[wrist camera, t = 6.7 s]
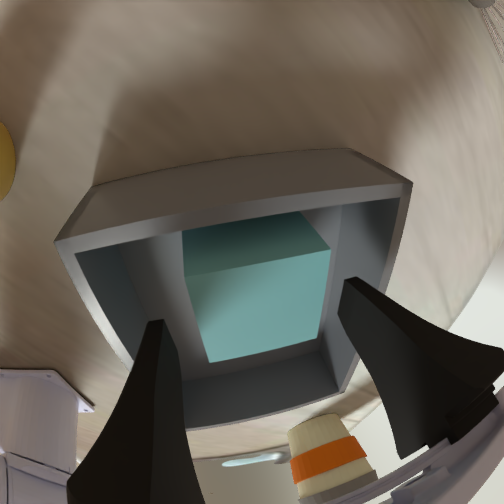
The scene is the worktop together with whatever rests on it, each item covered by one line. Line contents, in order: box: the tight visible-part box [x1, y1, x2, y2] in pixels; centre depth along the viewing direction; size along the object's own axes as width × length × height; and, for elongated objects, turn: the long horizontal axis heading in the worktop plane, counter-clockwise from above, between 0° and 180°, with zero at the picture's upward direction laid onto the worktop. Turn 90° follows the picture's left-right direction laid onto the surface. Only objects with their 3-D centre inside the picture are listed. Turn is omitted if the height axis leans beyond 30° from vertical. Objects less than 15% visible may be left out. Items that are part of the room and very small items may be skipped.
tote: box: [54, 148, 413, 431], centre depth 15 cm, size 17×13×5 cm
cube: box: [182, 211, 331, 363], centre depth 12 cm, size 5×5×5 cm
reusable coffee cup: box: [287, 413, 378, 504], centre depth 32 cm, size 13×13×15 cm
